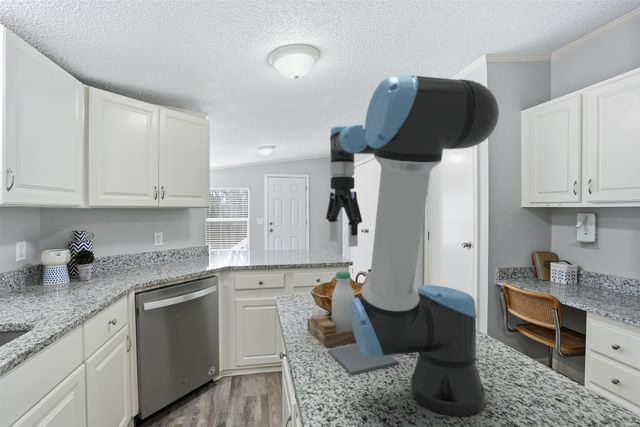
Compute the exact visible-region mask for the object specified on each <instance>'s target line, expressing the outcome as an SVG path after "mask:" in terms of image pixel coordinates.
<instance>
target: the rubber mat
mask: <svg viewBox="0 0 640 427" xmlns="http://www.w3.org/2000/svg"><path fill="white" fill-rule="evenodd" d="M327 353H328V354H329V356H330V357H332V358H333V359H334V360H335V362H337V363H338V365H340V366H341V367H342V369H344V370H345V371H346V372H347V373H348V374H349V375H350V376H355V375H359V374H362V373H367V372H371V371H376V370H380V369H384V368H388V367H394V366H399V364H400V363H399V362H400V361H399V360H397V359H396V358H395V357H393V355H388V356H384V357H381V356H373V357H369V356H365V355H364V354H363V353H362V352H361V351H360V349H359V347H358V345H357V343H355V344H351V345H346V346H345V345H344V346H342V347H341V346H339V347H336V348H330V349H329V348H328V349H327Z"/></svg>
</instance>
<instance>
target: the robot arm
mask: <svg viewBox="0 0 640 427" xmlns="http://www.w3.org/2000/svg"><path fill="white" fill-rule="evenodd" d="M499 113H500V110H499V105H498V102H497V99H496V97H495V95H494V94H493V92H492V91H491V90H490V89H488V87H487V86H485V85H483V84H481V83H480V82H477V81H474V80H469V79H454V78H443V77H432V76H423V75H422V76H421V75H411V74H409V75H393V76H388V77H386V78H384V79H383V80H382V81H380V83H379V84H378V85H377V87H376V88H375V90H374V92H372V96H371V98H370V101H369V104H368V106H367V111H366V117H365V123H364V125H362V124H361V123H352V124H349V125H336V126H333V127H331V129H330V135H329V142H330V143H329V144H330V166H329V167H330V176H331V178H330V189H331V190H334V192H329V201H328V206H327V211H326V217H325V219H326V220H328V223H329V229H328V230H329V237H328V238H329V240H328V241H329V242H338V239H339V238H338V237H339V236H338V235H339V234H338V233H339V232H338V229H339V227H338V225H339V224H338V222H339V221H338V220H339V219H338V217H339V214H340V212H341V209H342V208H343V209H344V211H345V213H346V217H347V219H348V221H349V222H348V223H347V224H348V225H347V228H348V230H347V231H348V234H347V236H348V242H347V243H348V247H349V248H352V247H358V243H359V242H358V240H359V239H358V237H359V236H358V225H359V224H361V223H363V218H362V214H361V210H360V206H359V202H358V197H357V194H358V193H357V191H351V190H354V189H355V177H354V175H355V168H356V167H355V155H373V158H374V159H375V160H376V161H377V162H378V164H380V167H381V168H380V169H381V170H380V177H379V187H378V197H377V204H376V205H377V207H376V216H375V217H376V218H375V226H374V227H375V228H374V236H373V245H372V256H371V266H370V275H369V280H368V281H366V282H365V283H363V285H362V287H361V290H360V297H356V296H355V299H352V300H351V303H350V316H351V323H352V328H353V333H354V336H355V340H356V343H355V344H357V345H358V347H359V349H360V351H361V352H362V353H363V354H364V355H365V356H369V357H373V356H381V357H384V356H388V355H390V356H396V355H405V354H407V355H408V354H415V353H418V356H417V357H418V358H417V360H416V363H415V367H414V371H413V373H412V375H411V377H410V394H411V396H412V398H414V400H415V401H416V402H417V403H419V404H420V405H421V406H423V407H424V408H426V409H428V410H431V411H433V412H436V413H439V414H443V415H448V416H455V417H463V416H465V417H466V416H472V415H476V414H478V413H480V412H481V411H483V409H484V408H485V406H486V392H485V388H484V386H483V384H482V379H481V377H480V373H479V370H478V367H477V363H476V362H477V361H476V359H477V358H476V356H477V347H476V346H477V345H476V344H477V343H476V342H477V340H476V339H477V337H476V336H477V335H476V333H477V326H476V325H477V324H476V323H477V322H476V320H477V318H478V317H477V311H476V310H477V309H476V301H475V299H474V297H473V296H472V295H470V294H469V293H467V292H465V291H461V290H460V289H455V288H451V287H447V286H439V285H432V284H430V285H429V284H428V285H427V284H424V285H420V286H419V287H418V288H417V290H416V289H415V287H414V285H415V278H416V273H417V265H418V259H419V251H420V246H421V245H420V244H421V236H422V232H423V224H424V218H425V217H424V216H425V211H426V203H427V197H428V191H429V190H428V189H429V184H430V178H431V172H432V170H433V169H434V168H435V167H436V166H438V165H439V164H441V162H442V160H443V159H442V157H443V152H444V150H460V149H461V150H462V149H469V148H473V147H476V146H478V145H479V144H481V143H483V142H485V141H486V140H487V139H488V138H489V137H490V136H491V134H493V133H494V131H495V129H496V127H497V124H498V120H499V115H500V114H499Z"/></svg>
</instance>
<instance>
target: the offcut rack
mask: <svg viewBox="0 0 640 427" xmlns="http://www.w3.org/2000/svg"><path fill="white" fill-rule="evenodd" d="M307 330H308V331H309V332H310V333H311V334H312V335H313V336H314V338H316V339H317V340H318V342H320V343H322V345H323V346H324V347H325V348H327V349H329V348H333V347H341V346H343V345H344V346H345V345H349V343H350V344H356V343H355V342H356V340H355V336H354V333H353V330H349V331H344V332H338V333H336V325H335V324H334V323H332V315H329V316H328V315H327V316H325V315H323V314H318V315H311V316H310V318H308V319H307Z"/></svg>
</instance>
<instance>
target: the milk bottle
mask: <svg viewBox="0 0 640 427" xmlns="http://www.w3.org/2000/svg"><path fill="white" fill-rule="evenodd" d="M335 278H336V284H335V286H334V287H335V288H334V290H333V292H332V294H331V295H332V296H331V316H332V323H334V324H335V325H336V333H338V332H344V331H349V330H353V328H352V323H351V316H350V303H351V300H352V299H355V298H356V296H355V292H354V290H353V287H352V286H351V281H350V280H351V272H349V271H344V270H343V271H342V270H341V271H337V272H336V273H335Z"/></svg>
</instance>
